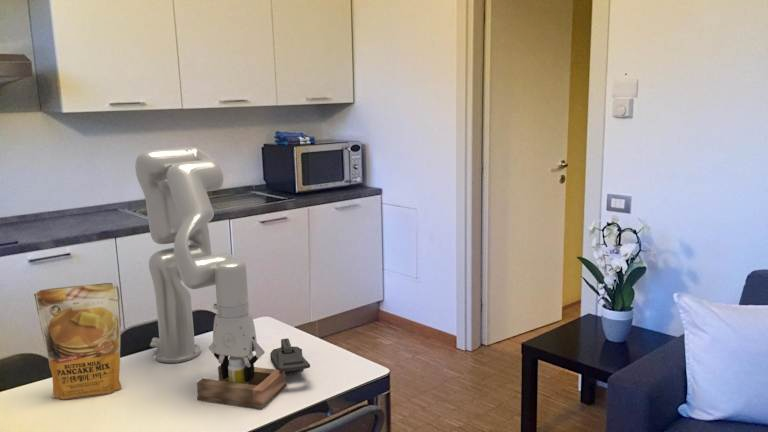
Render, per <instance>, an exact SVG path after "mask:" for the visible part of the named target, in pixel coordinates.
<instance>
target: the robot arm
mask: <svg viewBox="0 0 768 432" xmlns="http://www.w3.org/2000/svg"><path fill="white" fill-rule="evenodd" d="M135 175H136V178H137V181H138V184H139V185H140V188H141V190H142V193H143V195H144V200H145V205H146V214H147V220H148V226H149V227H148V228H149V233H150V237H151V239H152V241H153V242H154V243H156V244H157V245H168V244H173V247H169V248H165V249H161V250H158V251H156V252H154V253H153V254H152V255H151V256H150V258H149V259H148V260H149V261H148V268H149V273H150V276H151V279H152V284H153V289H154V294H155V295H154V297H155V304H156V314H157V315H156V316H157V317H156V318H157V325H158V326H157V327H158V336H159V337H153V338H152V339H151V342H150V344H149V346H150V347H151V348H157V349H156V350H157V351H156V352H155V353H154V355H155V359H156V360H157V361H158V362H160V363H167V364H176V363H183V362H187V361H190V360H192V359H195V358H196V357H198V356H199V355H200V354H201V352H202V349H201V348H202V347H201V346H200V345H198V344H196V342H195V331H194V321H193V320H194V319H193V318H194V317H193V309H192V297H191V293H190V291H189V290H188V289H191V290H198V289H202V288H206V287H211V286H215V294H216V303H214V304H213V306H212V307H213V309H215V310H216V311H217V312H216V313H217V314H215V315H214V320H213V328H212V342H211V343H210V345H208V351H210V352H211V353H212V354H213V356H214V357H215V359H217V362H218V363H219V364H220V365H221V373H222V378H223V379H226V378H227V377H229V375H228V365H229V357H230V356H232V357H241V358H243V359H244V361H245V364H246V366H245V367H244V373H245V381H246V382H249V381H250V380H251V379H252V378H253V377H254V367H255V363H256V362H257V361H258V360H259V359H260V358H261V357H262V356H263V355H265V350H264V349H263V348H262V347H261V345H260V344H259V343H258V342H257V332H256V326H255V323H254V319H253V315H252V313H250V309H249V307H250V306H249V293H248V292H249V291H248V290H249V289H248V277H247V265H246V263H245V261H244V260H242V259H239V258H236V257H235V256H234V255H232V254H231V253H229V252H221V253H217V254H216V253H214V254H212V246H211V240H210V239H211V237H210V231H209V225H208V224H209V223H210V222H211V221H212V220H213V218H214V217H215V216H214V215H215V212H214V209H213V206H212V204H211V201H210V198H209V194H208V192H212V191H218V190H220V189H221V188H222V186H223V183H224V173H223V170H222V168H221V166H220V164H219V163H218V162H217V161H216V160H215V159H214V158H213V157H212V156H210V155H209V154H208V153H206V152H205V151H203V150H202V149H201V148H199V147H195V146H179V147H165V148H154V149H148V150H145V151H143V152H140V153H139V154H138V156H137V157H136V160H135ZM186 287H187V288H186ZM253 352H255V354H254V353H253Z"/></svg>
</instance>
